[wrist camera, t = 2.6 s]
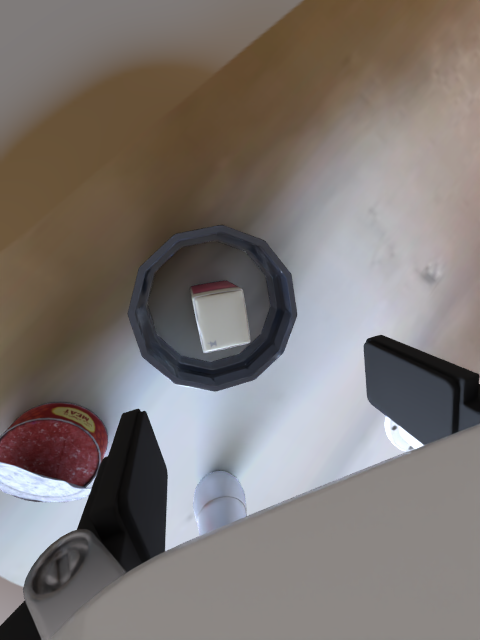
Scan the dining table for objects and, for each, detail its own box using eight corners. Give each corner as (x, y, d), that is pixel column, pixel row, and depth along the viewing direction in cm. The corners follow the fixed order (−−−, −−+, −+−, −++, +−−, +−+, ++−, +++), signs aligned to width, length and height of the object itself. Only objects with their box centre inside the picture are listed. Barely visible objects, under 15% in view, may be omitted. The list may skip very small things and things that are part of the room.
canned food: (118, 420, 35) (129, 500, 28) (37, 458, 33) (27, 555, 26) (70, 372, 27) (68, 467, 20) (-42, 417, 25) (-86, 541, 18)
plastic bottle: (224, 454, 34) (279, 700, 15) (249, 486, 37) (323, 736, 18) (182, 482, 34) (185, 769, 15) (209, 512, 36) (241, 797, 17)
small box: (234, 322, 30) (252, 344, 23) (197, 329, 30) (203, 355, 22) (227, 278, 29) (244, 287, 22) (188, 285, 28) (191, 297, 21)
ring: (265, 219, 28) (282, 212, 24) (286, 348, 33) (304, 365, 28) (118, 248, 26) (104, 247, 21) (162, 384, 30) (159, 408, 26)
